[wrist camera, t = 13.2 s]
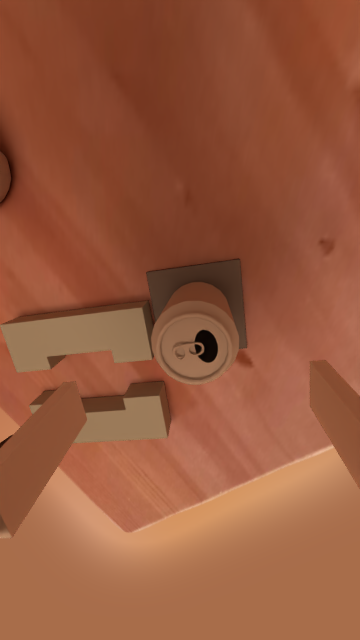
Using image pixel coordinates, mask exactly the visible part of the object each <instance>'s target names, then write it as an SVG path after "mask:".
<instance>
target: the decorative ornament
mask: <svg viewBox="0 0 360 640" xmlns="http://www.w3.org/2000/svg"><path fill="white" fill-rule="evenodd" d="M10 182H11V174H10V169H9V164H8V160H7V158H6V157H5V156H4V154H3V153H2V152H1V151H0V202H1V201H2V200H3V199H4V198H5V196H6V194H7V192H8V190H9V187H10Z"/></svg>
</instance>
